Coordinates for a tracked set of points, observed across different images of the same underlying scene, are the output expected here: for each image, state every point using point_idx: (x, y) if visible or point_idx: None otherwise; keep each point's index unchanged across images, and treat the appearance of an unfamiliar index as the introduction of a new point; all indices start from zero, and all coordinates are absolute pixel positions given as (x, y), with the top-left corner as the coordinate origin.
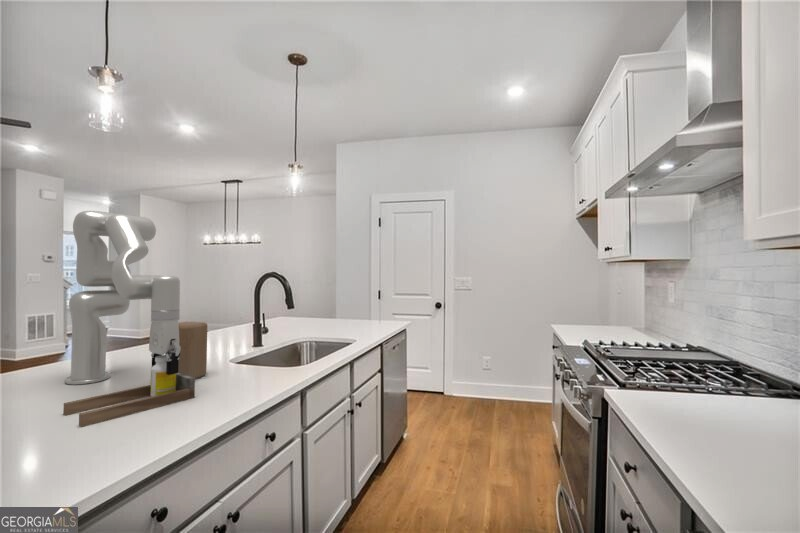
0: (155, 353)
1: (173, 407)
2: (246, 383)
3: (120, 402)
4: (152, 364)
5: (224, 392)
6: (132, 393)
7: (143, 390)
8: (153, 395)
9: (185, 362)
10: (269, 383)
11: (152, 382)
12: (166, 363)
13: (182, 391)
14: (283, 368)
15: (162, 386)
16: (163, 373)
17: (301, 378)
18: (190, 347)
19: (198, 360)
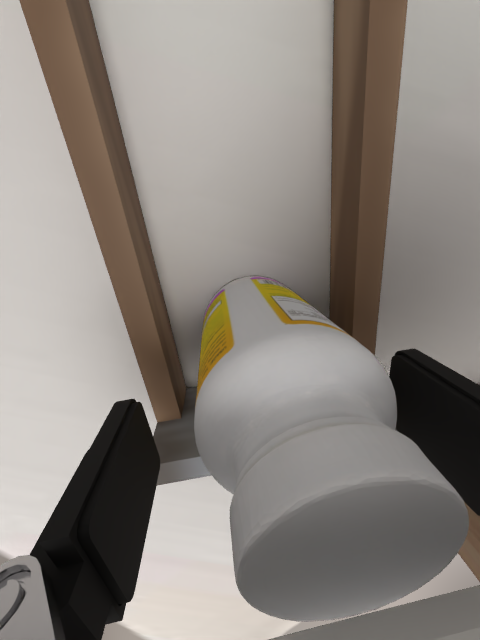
0: (445, 597)
1: (85, 321)
2: (219, 544)
3: (332, 153)
4: (443, 377)
5: (165, 486)
6: (347, 210)
7: (346, 266)
8: (232, 285)
9: (469, 511)
10: (170, 581)
11: (253, 300)
12: (82, 502)
13: (150, 392)
14: (291, 623)
15: (203, 335)
16: (199, 387)
17: (159, 633)
18: None
19: (462, 547)
